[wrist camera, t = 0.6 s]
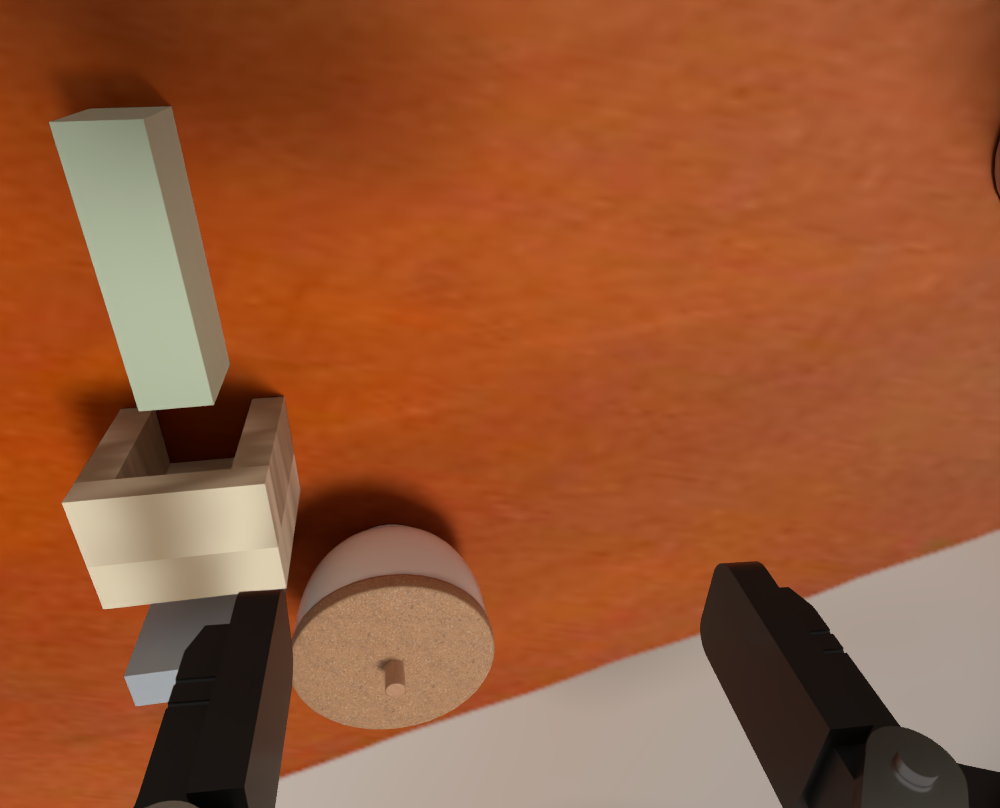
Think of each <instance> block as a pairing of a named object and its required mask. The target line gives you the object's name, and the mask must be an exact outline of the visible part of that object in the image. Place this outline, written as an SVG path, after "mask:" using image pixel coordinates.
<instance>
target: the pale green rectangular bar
mask: <svg viewBox="0 0 1000 808" xmlns="http://www.w3.org/2000/svg"><path fill="white" fill-rule="evenodd" d="M49 124H50V127H51V131H52V134H53V137H54V140H55V143H56V147H57V150H58V153H59V156H60V160H61V163H62V166H63V169H64V172H65V176H66V179H67V182H68V185H69V189H70V192H71V195H72V198H73V201H74V205H75V208H76V211H77V214H78V218H79V221H80V224H81V227H82V230H83V234H84V237H85V240H86V243H87V246H88V250H89V253H90V256H91V259H92V263H93V266H94V269H95V272H96V275H97V279H98V282H99V285H100V288H101V292H102V295H103V298H104V301H105V304H106V308H107V311H108V314H109V317H110V321H111V324H112V327H113V330H114V333H115V337H116V340H117V343H118V346H119V349H120V353H121V356H122V359H123V362H124V366H125V369H126V372H127V375H128V378H129V382H130V385H131V388H132V391H133V395H134V398H135V401H136V404H137V407H138V411H150V410H162V409H174V408H185V407H197V406H209V405H214V404H215V401H216V398H217V396H218V393H219V391H220V388H221V386H222V383H223V381H224V378H225V376H226V373H227V371H228V368H229V366H230V362H229V358H228V353H227V349H226V345H225V340H224V336H223V331H222V327H221V322H220V318H219V314H218V309H217V305H216V300H215V296H214V292H213V287H212V283H211V278H210V274H209V269H208V265H207V261H206V256H205V252H204V247H203V243H202V239H201V234H200V230H199V225H198V221H197V216H196V212H195V208H194V203H193V199H192V194H191V190H190V185H189V181H188V177H187V172H186V168H185V163H184V159H183V155H182V150H181V146H180V141H179V137H178V132H177V128H176V124H175V119H174V115H173V110H172V106H163V107H128V108H92V109H87V110H84V111H81V112H78V113H75V114H72V115H69V116H66V117H63V118H60V119H57V120H54V121H51V122H49Z"/></svg>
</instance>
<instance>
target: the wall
mask: <svg viewBox="0 0 1000 808" xmlns="http://www.w3.org/2000/svg"><path fill="white" fill-rule="evenodd" d="M292 546H293V545H292ZM291 553H292V552H291ZM290 561H291V559H290ZM289 568H290V566H289ZM288 575H289V573H288ZM287 582H288V580H287ZM286 589H287V587H286V588H284V589H283V590H284V592H285V596H286ZM237 595H238V594H232V595H223V596H215V597H206V598H197V599H189V600H180V601H171V602H163V603H154V604H151V605H150V608H149V610H148V613H147V616H146V618H145V621H144V624H143V627H142V629H141V632H140V635H139V637H138V640H137V643H136V646H135V648H134V651H133V654H132V656H131V659H130V662H129V665H128V667H127V670H126V673H125V675H124V678H125V680H126V683H127V685H128V688H129V690H130V693H131V695H132V698H133V700H134V703H135V705H136V706H142V705H149V704H156V703H164V702H168V701H169V698H170V695H171V692H172V688H173V685H175V682H176V680H175V679H176V676H177V673H178V669H179V666H180V663H181V660H182V657H183V654H184V651H185V649H186V648H187V647H188V646H189V645H190V643H191V642H192V641H193V640H194V638H195V637H196V636H197V635H198V634H199V632H200V631H201V630H202V629H203V627H204V626H205V625H217V624H230V620H231V616H232V612H233V608H234V604H235V601H236V597H237Z"/></svg>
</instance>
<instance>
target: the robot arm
mask: <svg viewBox="0 0 1000 808" xmlns="http://www.w3.org/2000/svg"><path fill="white" fill-rule="evenodd" d="M995 180H996V186H997V190H998V193H999V195H1000V140H999V144H998V148H997V152H996V159H995ZM700 633H701V640H702V645H703V648H704V651H705V653H706V656H707V658H708V660H709V662H710V664H711V666H712V668H713V670H714V672H715V674H716V675H717V678H718V680H719V682H720V683H721V686H722V688H723V690H724V692H725V694H726V696H727V697H728V699H729V702H730V704H731V706H732V708H733V710H734V711H735V713H736V715H737V717H738V719H739V721H740V723H741V725H742V727H743V729H744V731H745V733H746V735H747V737H748V739H749V741H750V743H751V745H752V747H753V749H754V751H755V753H756V755H757V757H758V759H759V761H760V763H761V765H762V767H763V769H764V771H765V773H766V775H767V777H768V779H769V781H770V783H771V785H772V787H773V789H774V791H775V793H776V795H777V797H778V799H779V801H780V803H781V805H782V807H783V808H1000V772H996V771H990V770H986V769H981V768H976V767H972V766H967V765H963V764H958V763H956V761H955V760H954V759H953V758H952V757H951V755H950V754H949V753H948V752H947V751H946V750H944V749H943V748H942V747H941V746H940V745H938V744H937V743H936V742H934V741H933V740H931V739H930V738H928V737H926V736H924V735H923V734H921V733H919V732H916V731H914V730H911V729H908V728H904V727H900V725H899V724H898V723H897V721H896V720H895V719H894V717H893V716H892V714H891V713H890V712H889V710H888V709H887V708H886V706H885V705H884V704H883V702H882V701H881V699H880V698H879V696H878V695H877V694H876V692H875V691H874V690H873V688H872V687H871V685H870V684H869V683H868V681H867V680H866V679H865V677H864V676H863V674H862V673H861V672H860V670H859V669H858V668H857V666H856V665H855V663H854V662H853V661H852V660H851V658H850V657H849V655H848V654H847V653H844V651H843V647H842V646H841V644H840V643H839V641H838V640H837V639H836V637H835V636H834V635H833V634H830V629H829V628H828V626H827V625H826V623H825V622H824V621H823V619H822V618H821V617H820V615H819V614H818V612H817V611H816V610H815V608H813V606H812V605H810V604H809V603H808V602H807V601H806V600H804V599H803V598H802V597H800V596H799V595H798V594H797V593H795V592H794V591H793V590H792V589H790V588H789V587H783V588H779V587H778V585H777V584H776V582H775V581H774V579H773V578H772V576H771V575H770V574H769V572H768V571H767V569H766V568H765V567H764V565H762V564H761V563H760V562H757V561H754V562H738V563H722V564H719V565H717V566H716V568H715V570H714V573H713V577H712V581H711V585H710V588H709V592H708V596H707V599H706V603H705V607H704V610H703V614H702V618H701V624H700ZM175 680H176V682H175V685H173V688H172V692H171V695H170V698H169V701H168V708H167V709H166V710H165V714H164V717H163V720H162V723H161V726H160V729H159V732H158V736H157V739H156V742H155V745H154V748H153V751H152V754H151V758H150V761H149V764H148V767H147V770H146V773H145V777H144V780H143V783H142V786H141V789H140V792H139V795H138V798H137V801H136V803H135V806H134V808H275V803H276V796H277V788H278V782H279V775H280V768H281V760H282V753H283V746H284V739H285V732H286V725H287V718H288V710H289V703H290V696H291V689H292V680H293V649H292V641H291V634H290V626H289V618H288V611H287V603H286V596H285V592H284V590H283V589H275V590H259V591H242V592H239V593H238V595H237V597H236V601H235V604H234V608H233V612H232V616H231V620H230V624H217V625H205V626H204V627H203V629H202V630H201V631H200V632H199V634H198V635H197V636H196V637H195V638H194V640H193V641H192V642H191V643H190V645H189V646H188V647H187V648H186V649H185V651H184V654H183V657H182V660H181V663H180V666H179V669H178V673H177V676H176V679H175Z"/></svg>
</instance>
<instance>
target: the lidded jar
mask: <svg viewBox="0 0 1000 808" xmlns="http://www.w3.org/2000/svg"><path fill="white" fill-rule="evenodd" d="M291 641H292V649H293V680H292V685H293V687H294V689H295V690H296V692H297V694H298V695H299V697H300V698H301V699H302V700H303V701H304V702H305V703H306V704H307V705H308V706H309V707H311V708H312V709H313V710H314V711H316V712H317V713H318V714H320V715H322V716H324V717H326V718H328V719H330V720H333V721H335V722H338V723H341V724H344V725H348V726H353V727H359V728H366V729H392V728H402V727H407V726H412V725H416V724H420V723H423V722H427V721H430V720H432V719H435V718H437V717H439V716H442V715H444V714H445V713H447V712H449V711H451V710H453V709H455V708H456V707H458V706H459V705H460V704H462V703H463V702H464V701H466V700H467V699H468V698H469V697H470V696H471V695H472V694H474V693H475V692H476V690H477V689H478V688H479V687H480V685H481V684H482V683H483V681H484V680H485V678H486V676H487V674H488V673H489V671H490V668H491V665H492V662H493V659H494V651H495V646H494V637H493V632H492V628H491V625H490V622H489V619H488V616H487V613H486V609H485V605H484V601H483V598H482V595H481V592H480V589H479V587H478V584H477V582H476V579H475V577H474V576H473V574H472V572H471V570H470V568H469V567H468V565H467V563H466V562H465V560H464V559H463V558H462V557H461V556H460V555H459V554H458V553H457V551H456V550H455V549H454V548H453V547H452V546H450V545H449V544H448V543H447V542H445V541H444V540H442V539H441V538H439V537H437V536H435V535H434V534H432V533H430V532H427V531H424V530H421V529H418V528H413V527H410V526H405V525H397V524H388V525H381V526H376V527H373V528H370V529H368V530H365V531H362V532H360V533H357V534H355V535H353V536H351V537H349V538H348V539H346V540H344V541H343V542H341V543H340V544H339V545H337V546H336V547H335V548H334V549H333V550H331V551H330V552H329V553H328V554H327V555H326V556H325V557H324V559H323V560H322V561H321V562H320V563H319V565H318V566H317V567H316V569H315V571H314V572H313V574H312V575H311V577H310V579H309V581H308V584H307V586H306V588H305V591H304V593H303V596H302V598H301V602H300V605H299V608H298V612H297V618H296V624H295V630H294V634H293V637H292V640H291Z"/></svg>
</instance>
